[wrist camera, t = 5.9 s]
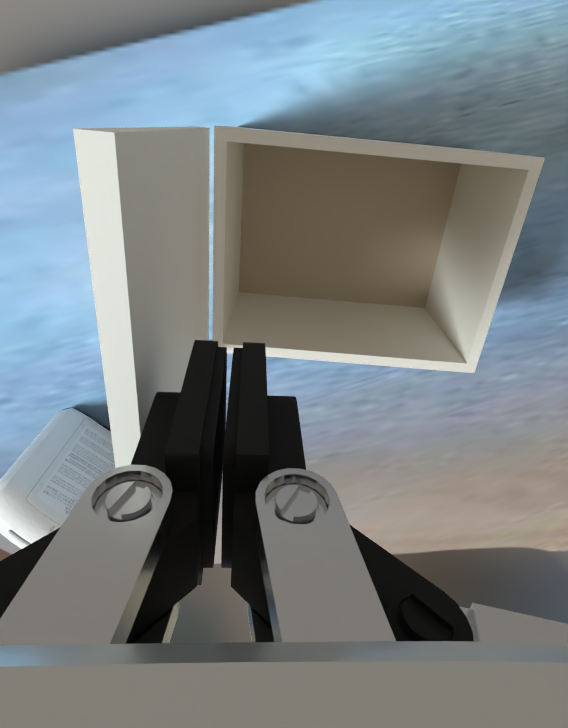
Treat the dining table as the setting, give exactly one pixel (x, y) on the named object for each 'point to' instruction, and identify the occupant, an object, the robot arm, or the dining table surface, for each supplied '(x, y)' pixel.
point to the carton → (362, 246)
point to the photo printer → (53, 476)
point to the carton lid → (145, 262)
